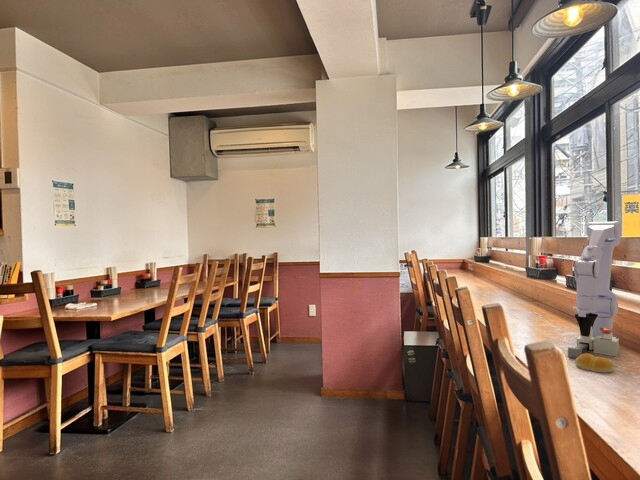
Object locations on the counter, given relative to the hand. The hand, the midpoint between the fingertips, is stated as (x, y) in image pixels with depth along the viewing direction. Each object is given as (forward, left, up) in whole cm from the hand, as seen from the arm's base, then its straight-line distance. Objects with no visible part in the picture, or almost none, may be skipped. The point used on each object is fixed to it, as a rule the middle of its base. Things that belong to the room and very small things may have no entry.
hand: (586, 335), depth 138 cm
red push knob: (+3, +6, -2) cm, 7 cm away
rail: (+6, 0, -4) cm, 7 cm away
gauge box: (+3, +6, -4) cm, 8 cm away
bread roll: (+25, +6, -5) cm, 26 cm away
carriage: (0, 0, -4) cm, 4 cm away
